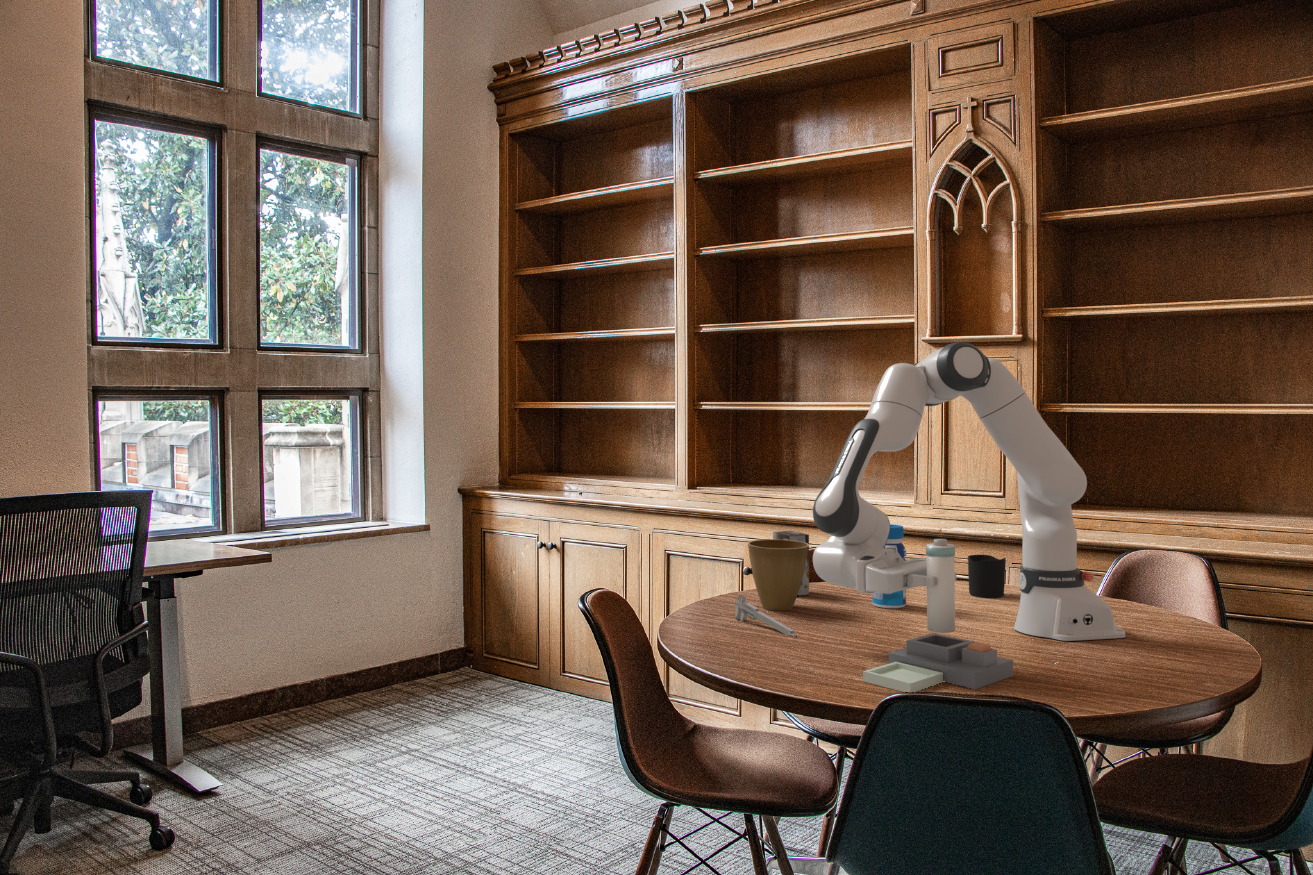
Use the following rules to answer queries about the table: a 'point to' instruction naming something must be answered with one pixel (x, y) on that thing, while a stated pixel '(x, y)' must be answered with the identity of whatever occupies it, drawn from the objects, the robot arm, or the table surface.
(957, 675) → the housing
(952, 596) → the cartridge
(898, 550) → the beverage bottle
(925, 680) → the tray
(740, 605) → the caliper
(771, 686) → the table surface
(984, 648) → the plunger
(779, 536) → the coffee box
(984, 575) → the pen holder
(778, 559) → the plant pot
